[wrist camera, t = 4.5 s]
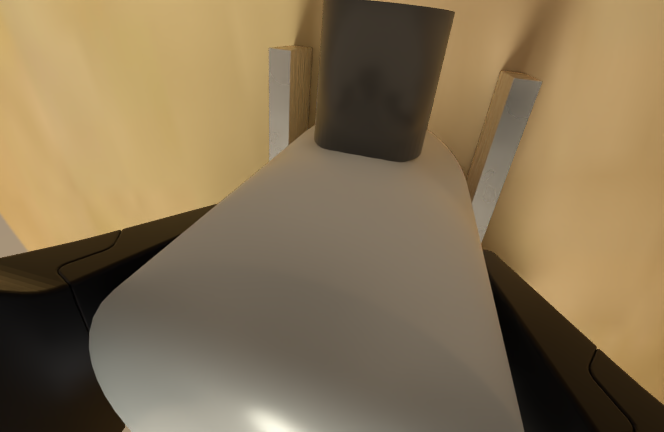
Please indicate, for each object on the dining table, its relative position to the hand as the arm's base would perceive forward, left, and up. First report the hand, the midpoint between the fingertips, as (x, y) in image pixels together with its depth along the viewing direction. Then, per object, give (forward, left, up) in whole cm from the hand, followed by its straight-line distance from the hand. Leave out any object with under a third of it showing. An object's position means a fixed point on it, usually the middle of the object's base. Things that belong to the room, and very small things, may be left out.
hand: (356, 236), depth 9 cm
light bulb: (0, -1, -1) cm, 2 cm away
